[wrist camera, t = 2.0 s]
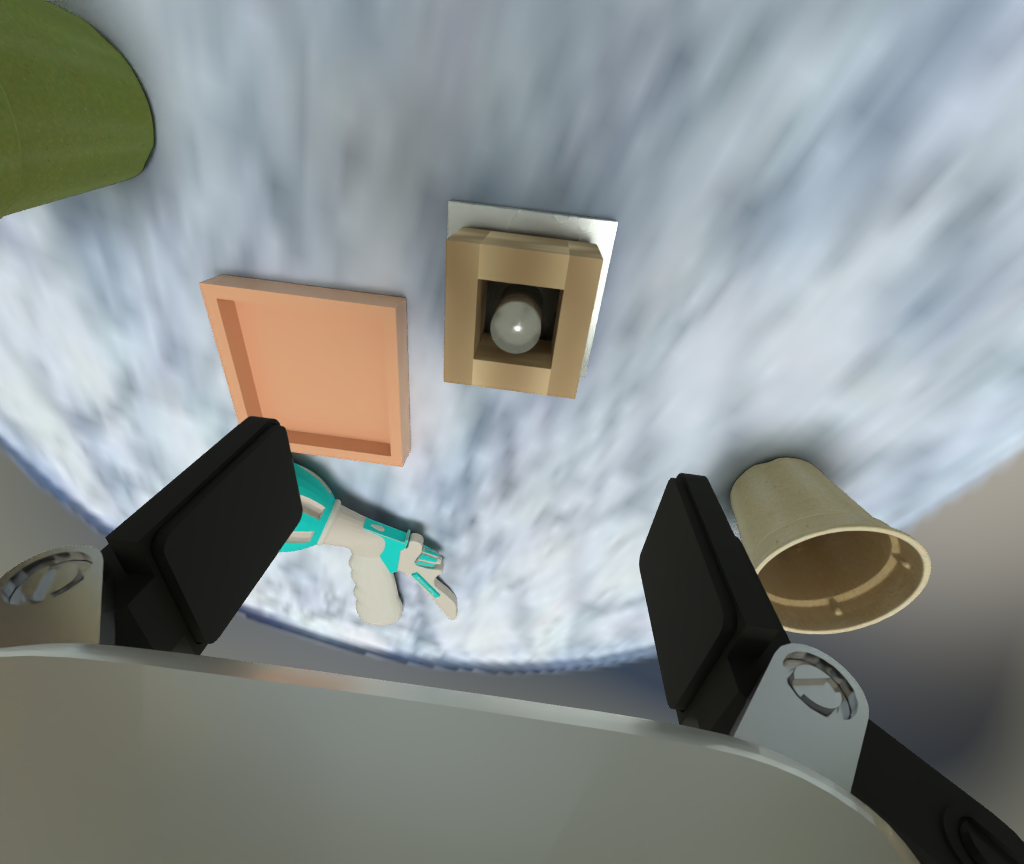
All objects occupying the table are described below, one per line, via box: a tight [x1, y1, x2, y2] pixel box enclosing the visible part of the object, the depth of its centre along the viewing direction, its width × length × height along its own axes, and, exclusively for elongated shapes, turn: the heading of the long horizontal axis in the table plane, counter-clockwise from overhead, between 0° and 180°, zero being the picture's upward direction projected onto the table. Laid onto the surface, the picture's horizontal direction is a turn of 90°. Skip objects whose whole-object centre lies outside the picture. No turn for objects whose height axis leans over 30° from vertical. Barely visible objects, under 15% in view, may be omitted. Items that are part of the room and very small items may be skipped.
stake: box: [447, 200, 618, 378], centre depth 23 cm, size 9×9×6 cm
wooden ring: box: [444, 227, 604, 399], centre depth 23 cm, size 7×7×4 cm
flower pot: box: [730, 458, 931, 634], centre depth 29 cm, size 9×9×9 cm
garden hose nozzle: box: [279, 460, 457, 626], centre depth 37 cm, size 7×18×20 cm
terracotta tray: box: [199, 275, 411, 467], centre depth 29 cm, size 12×12×2 cm
